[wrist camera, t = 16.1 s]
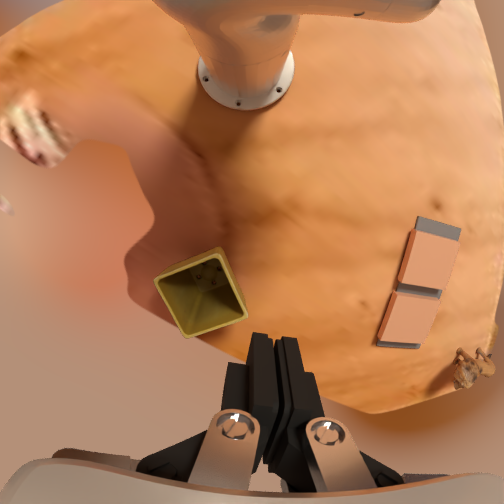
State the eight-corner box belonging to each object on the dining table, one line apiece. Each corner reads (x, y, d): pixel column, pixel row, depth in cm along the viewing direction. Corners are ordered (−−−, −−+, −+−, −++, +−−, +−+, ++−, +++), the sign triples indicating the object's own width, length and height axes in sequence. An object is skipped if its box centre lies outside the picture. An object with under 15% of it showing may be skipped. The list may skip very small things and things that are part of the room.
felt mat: (417, 215, 42) (418, 216, 42) (459, 228, 43) (461, 228, 42) (376, 344, 48) (376, 345, 48) (418, 347, 49) (419, 348, 48)
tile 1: (397, 295, 43) (441, 301, 44) (392, 290, 45) (436, 297, 45) (380, 340, 46) (424, 343, 46) (376, 335, 47) (419, 338, 48)
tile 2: (416, 230, 41) (460, 242, 41) (411, 228, 42) (454, 239, 43) (401, 282, 43) (445, 290, 43) (396, 278, 44) (440, 286, 45)
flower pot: (250, 289, 45) (249, 318, 37) (196, 308, 46) (184, 340, 38) (226, 233, 43) (219, 252, 34) (170, 256, 44) (151, 279, 35)
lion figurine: (436, 370, 51) (457, 398, 42) (445, 348, 49) (468, 374, 40) (485, 362, 51) (506, 385, 42) (494, 341, 49) (517, 363, 41)
